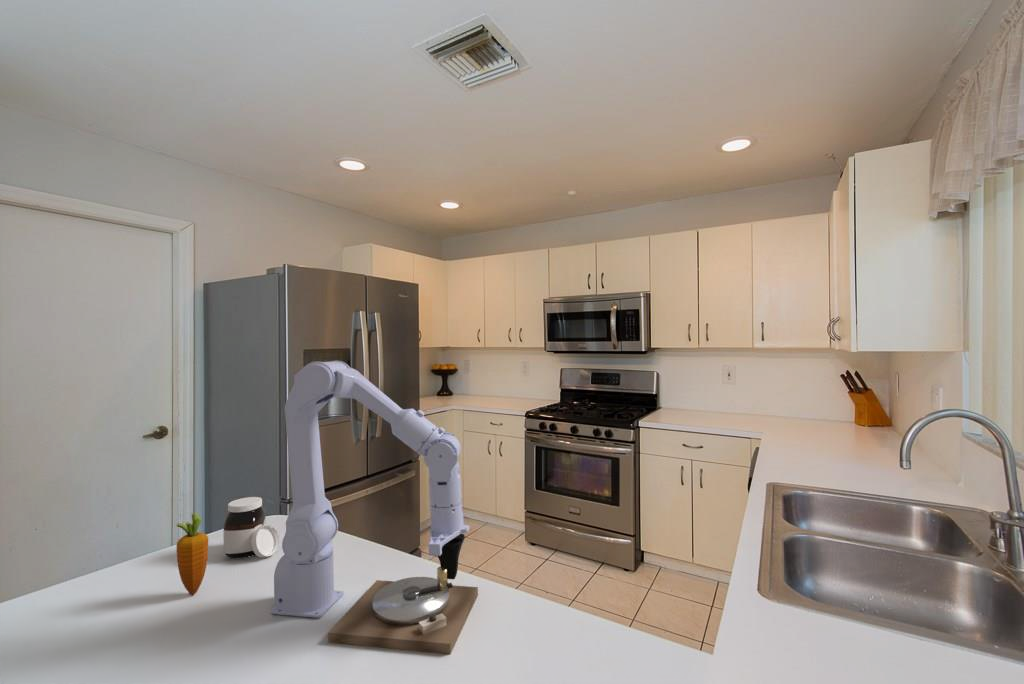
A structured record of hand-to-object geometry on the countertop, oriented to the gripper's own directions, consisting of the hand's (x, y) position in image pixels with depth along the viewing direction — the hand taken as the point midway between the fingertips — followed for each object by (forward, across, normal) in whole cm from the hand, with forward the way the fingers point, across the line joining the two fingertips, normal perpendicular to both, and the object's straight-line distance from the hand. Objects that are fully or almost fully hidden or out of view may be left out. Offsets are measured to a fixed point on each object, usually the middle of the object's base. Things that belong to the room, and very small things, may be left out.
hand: (449, 577), depth 83 cm
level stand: (+4, -6, +6) cm, 9 cm away
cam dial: (+2, -4, +6) cm, 7 cm away
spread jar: (+3, +14, +52) cm, 54 cm away
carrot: (+3, -4, +50) cm, 50 cm away
